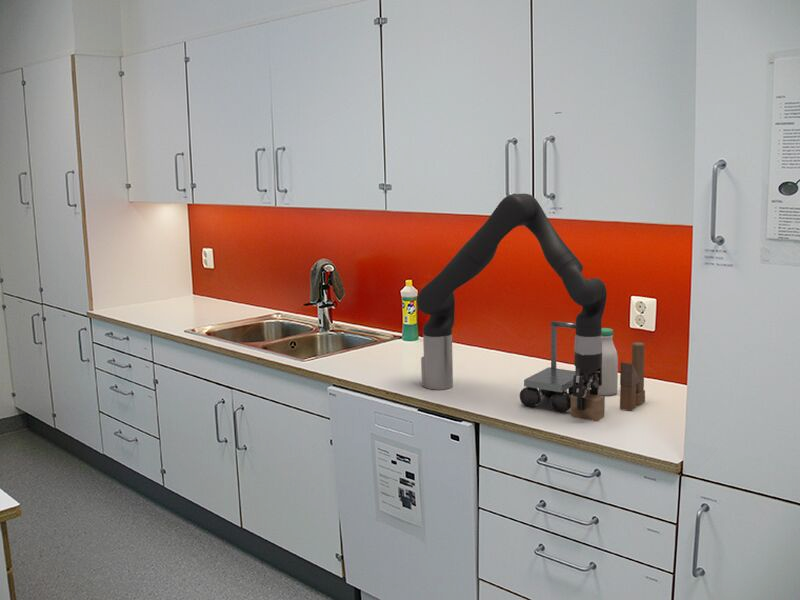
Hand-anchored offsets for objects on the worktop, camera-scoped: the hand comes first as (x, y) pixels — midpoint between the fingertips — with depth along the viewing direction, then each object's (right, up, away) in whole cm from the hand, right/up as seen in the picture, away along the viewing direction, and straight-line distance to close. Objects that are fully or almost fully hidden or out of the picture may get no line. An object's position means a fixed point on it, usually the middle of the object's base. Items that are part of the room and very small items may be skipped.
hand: (587, 406), depth 239 cm
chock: (0, -3, +1) cm, 3 cm away
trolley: (-7, -1, +13) cm, 15 cm away
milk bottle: (+10, +1, +22) cm, 25 cm away
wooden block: (+15, -1, +9) cm, 18 cm away
